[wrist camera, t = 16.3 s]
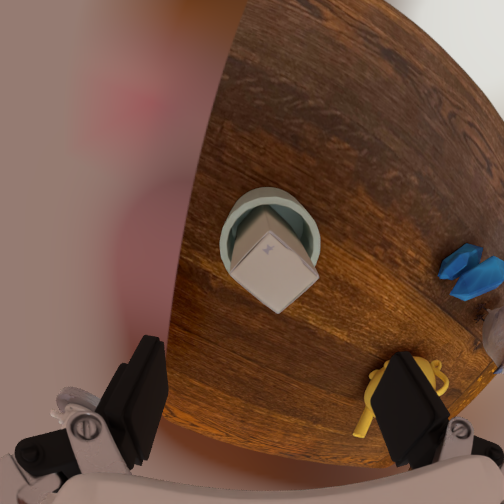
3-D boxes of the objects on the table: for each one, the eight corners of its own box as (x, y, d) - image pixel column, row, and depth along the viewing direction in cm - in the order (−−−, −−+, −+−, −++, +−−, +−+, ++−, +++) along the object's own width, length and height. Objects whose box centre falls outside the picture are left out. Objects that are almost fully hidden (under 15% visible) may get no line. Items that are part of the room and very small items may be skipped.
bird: (453, 315, 36) (502, 368, 22) (502, 287, 34) (551, 327, 20) (450, 336, 37) (494, 390, 23) (498, 308, 36) (543, 350, 22)
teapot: (341, 402, 42) (355, 452, 31) (373, 344, 37) (400, 396, 27) (403, 400, 42) (423, 441, 32) (437, 346, 38) (468, 387, 27)
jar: (221, 251, 33) (210, 280, 25) (238, 178, 30) (232, 185, 22) (292, 268, 33) (302, 301, 26) (314, 198, 31) (333, 212, 23)
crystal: (447, 278, 26) (518, 242, 22) (425, 248, 34) (487, 219, 29) (452, 323, 28) (517, 289, 24) (433, 288, 36) (492, 261, 31)
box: (235, 226, 31) (222, 272, 19) (263, 197, 30) (267, 226, 18) (270, 256, 32) (277, 317, 20) (297, 229, 31) (322, 277, 19)
